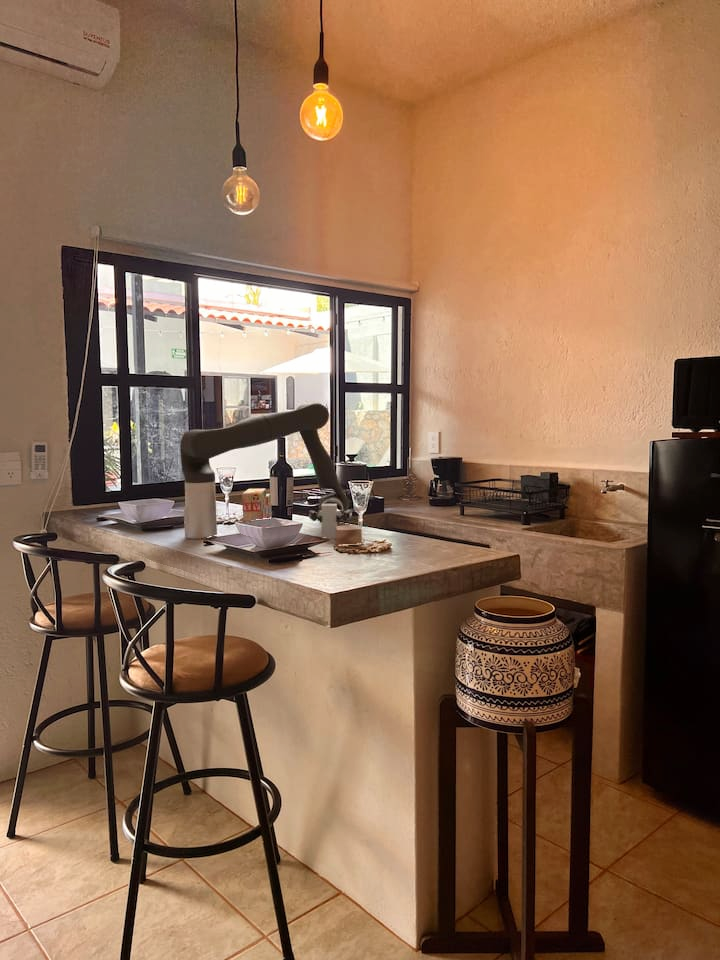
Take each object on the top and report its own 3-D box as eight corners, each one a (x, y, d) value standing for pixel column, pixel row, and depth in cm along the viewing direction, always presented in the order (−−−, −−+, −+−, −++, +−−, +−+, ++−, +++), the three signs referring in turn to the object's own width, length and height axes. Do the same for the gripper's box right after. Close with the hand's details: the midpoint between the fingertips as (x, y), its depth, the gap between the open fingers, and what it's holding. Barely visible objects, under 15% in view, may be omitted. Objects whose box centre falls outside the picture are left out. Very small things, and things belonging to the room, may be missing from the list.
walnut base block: (337, 547, 196) (337, 530, 196) (335, 542, 203) (335, 525, 203) (361, 546, 197) (361, 529, 196) (359, 541, 204) (359, 525, 203)
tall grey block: (322, 538, 209) (321, 505, 208) (322, 535, 213) (322, 503, 212) (336, 538, 209) (336, 505, 208) (337, 535, 213) (336, 503, 212)
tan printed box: (254, 519, 248) (253, 485, 246) (271, 519, 248) (270, 485, 246) (243, 529, 226) (241, 492, 225) (261, 529, 226) (260, 492, 225)
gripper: (309, 499, 224) (305, 506, 207) (353, 499, 224) (352, 506, 207) (310, 522, 225) (305, 531, 208) (353, 521, 225) (352, 530, 208)
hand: (329, 518), depth 208 cm, fingers closed on tall grey block, 4 cm apart
